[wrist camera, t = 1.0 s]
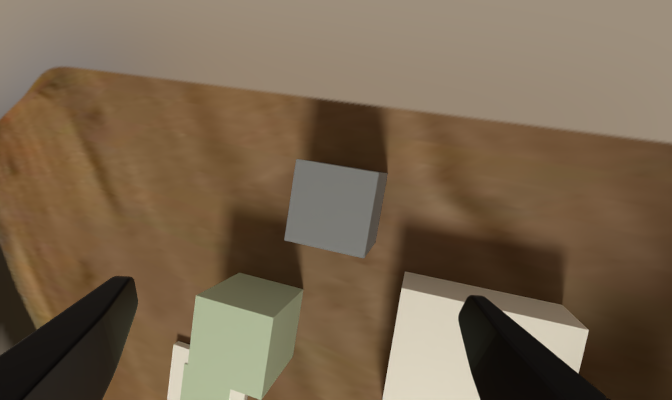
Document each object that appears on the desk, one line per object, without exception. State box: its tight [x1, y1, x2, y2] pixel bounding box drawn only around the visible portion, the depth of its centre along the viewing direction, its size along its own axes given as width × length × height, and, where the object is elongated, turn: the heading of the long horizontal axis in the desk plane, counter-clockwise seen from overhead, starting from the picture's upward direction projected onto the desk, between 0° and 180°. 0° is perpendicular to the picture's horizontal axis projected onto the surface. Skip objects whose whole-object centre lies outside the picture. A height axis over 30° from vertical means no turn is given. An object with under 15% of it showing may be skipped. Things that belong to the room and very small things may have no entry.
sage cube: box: [187, 273, 303, 400], centre depth 25 cm, size 6×6×6 cm
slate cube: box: [284, 159, 388, 258], centre depth 23 cm, size 5×5×5 cm
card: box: [167, 341, 248, 400], centre depth 29 cm, size 7×7×1 cm
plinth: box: [382, 271, 589, 400], centre depth 22 cm, size 10×10×4 cm
